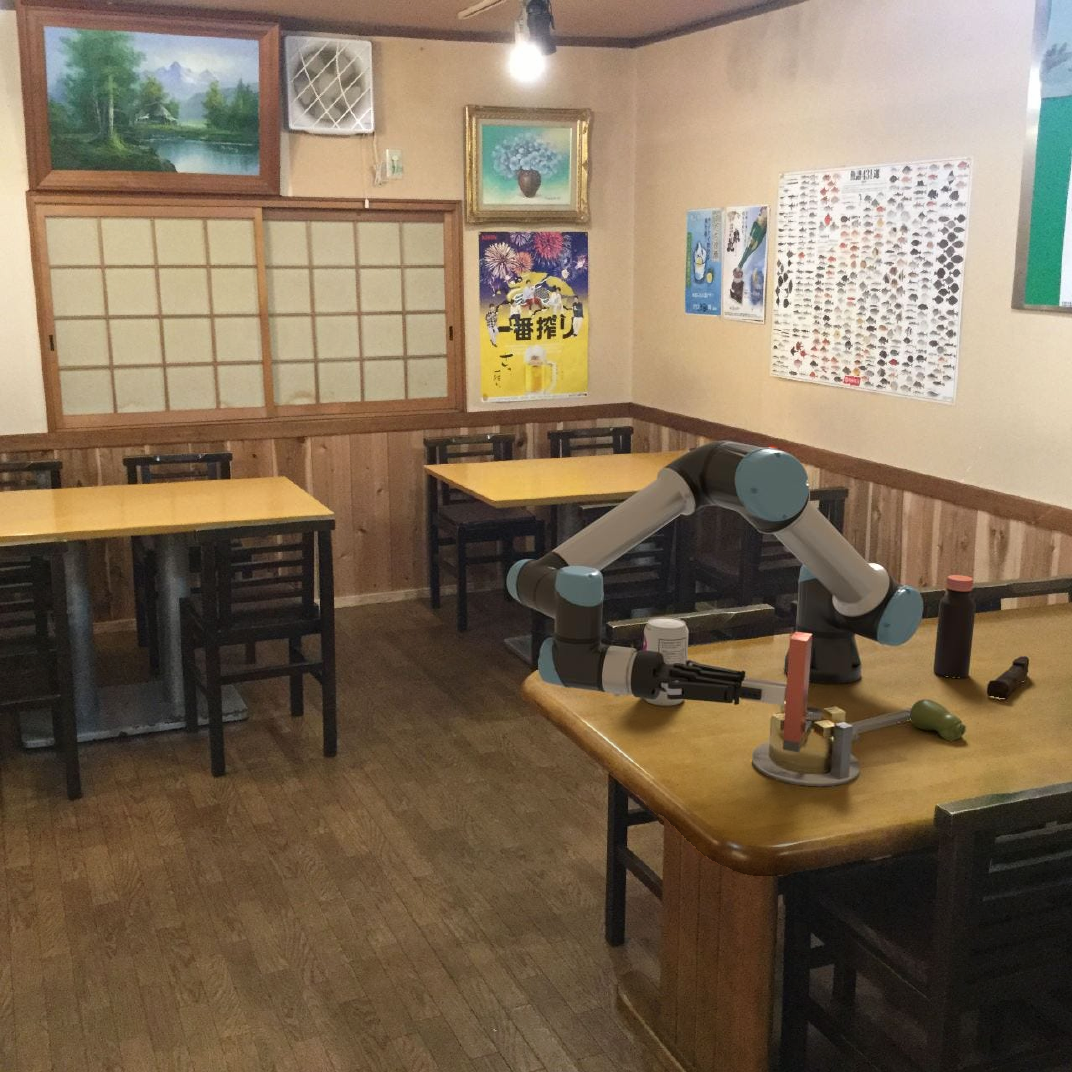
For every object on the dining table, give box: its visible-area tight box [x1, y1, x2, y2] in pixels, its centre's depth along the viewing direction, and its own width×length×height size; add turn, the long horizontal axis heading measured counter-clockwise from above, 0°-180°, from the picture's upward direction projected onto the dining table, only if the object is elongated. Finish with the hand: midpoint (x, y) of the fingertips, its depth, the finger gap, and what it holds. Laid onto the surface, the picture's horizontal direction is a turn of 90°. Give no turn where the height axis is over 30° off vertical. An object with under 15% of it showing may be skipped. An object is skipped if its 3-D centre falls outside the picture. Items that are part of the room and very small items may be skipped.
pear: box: [910, 698, 967, 741], centre depth 206 cm, size 6×5×10 cm
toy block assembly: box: [768, 631, 846, 773], centre depth 185 cm, size 19×12×24 cm, turn 156°
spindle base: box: [751, 706, 861, 788], centre depth 190 cm, size 17×17×10 cm
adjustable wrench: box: [846, 707, 912, 742], centre depth 208 cm, size 25×6×2 cm, turn 117°
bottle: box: [933, 574, 977, 679], centre depth 236 cm, size 7×7×20 cm
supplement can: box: [642, 616, 690, 707], centre depth 218 cm, size 8×8×15 cm
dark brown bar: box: [986, 656, 1030, 700], centre depth 230 cm, size 19×4×5 cm, turn 140°
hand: (785, 694), depth 177 cm, fingers closed
